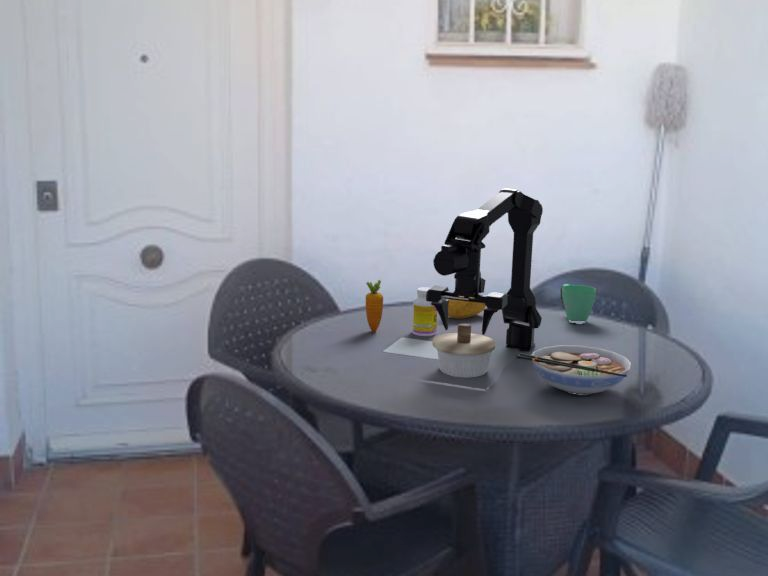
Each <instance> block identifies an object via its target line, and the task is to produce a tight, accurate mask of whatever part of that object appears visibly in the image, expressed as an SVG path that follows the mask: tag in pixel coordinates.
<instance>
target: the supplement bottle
mask: <svg viewBox="0 0 768 576" xmlns="http://www.w3.org/2000/svg"><path fill="white" fill-rule="evenodd" d="M430 288H431V287H427V286H422V287H418V288H416V294H417V296H416V297H415V298H414V299H413V300H412V301H413V302H412V303H413V304H412V325H411V326H412V328H411V329H412V331H411V332H412V334H413V335H414V336H419V337H433V336H436V334H437V328H438V327H437V326H438V323H437V322H438V320H437V319H438V312H437V310H436V308H435V306H434V305H431V302H429V301H426V293H427V291H428V290H429V289H430Z"/></svg>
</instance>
